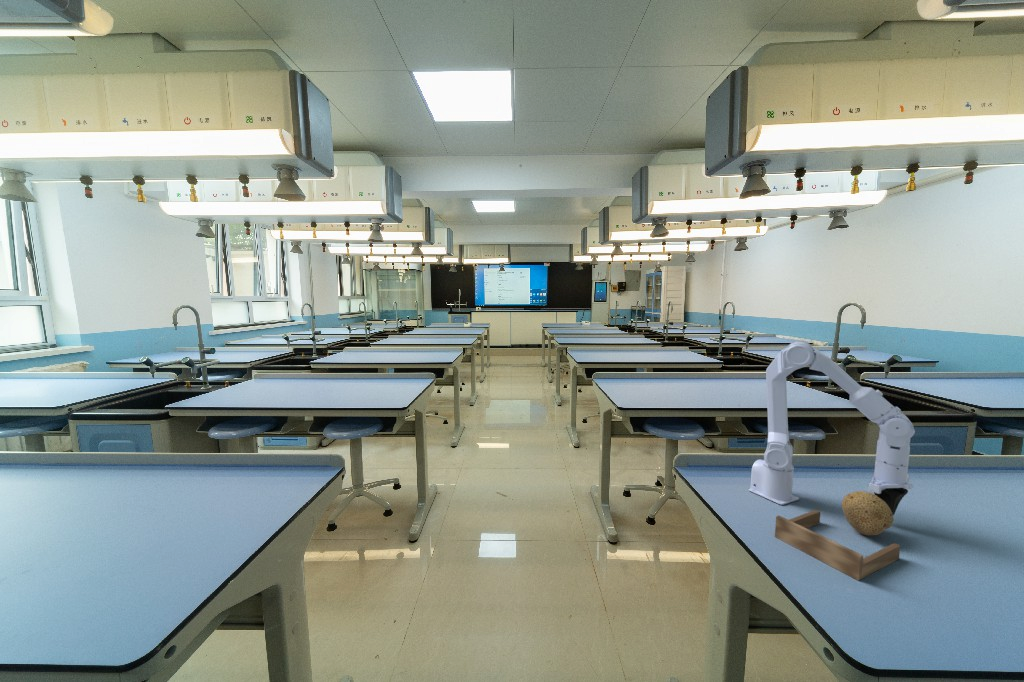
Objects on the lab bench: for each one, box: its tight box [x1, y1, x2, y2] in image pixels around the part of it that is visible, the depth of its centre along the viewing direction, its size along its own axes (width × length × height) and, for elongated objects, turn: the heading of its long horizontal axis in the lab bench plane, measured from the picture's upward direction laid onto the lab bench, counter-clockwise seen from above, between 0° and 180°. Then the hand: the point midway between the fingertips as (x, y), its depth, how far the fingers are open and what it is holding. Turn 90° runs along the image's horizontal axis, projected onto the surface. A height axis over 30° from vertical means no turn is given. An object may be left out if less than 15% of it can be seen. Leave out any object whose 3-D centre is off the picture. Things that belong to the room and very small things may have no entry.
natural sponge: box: [841, 490, 894, 536], centre depth 92 cm, size 9×9×10 cm
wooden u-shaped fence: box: [774, 509, 901, 582], centre depth 87 cm, size 16×16×5 cm
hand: (886, 514), depth 96 cm, fingers closed
